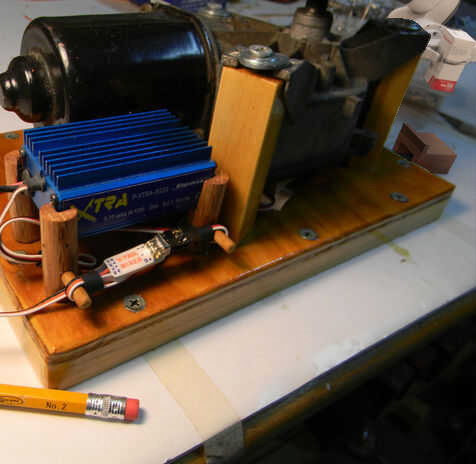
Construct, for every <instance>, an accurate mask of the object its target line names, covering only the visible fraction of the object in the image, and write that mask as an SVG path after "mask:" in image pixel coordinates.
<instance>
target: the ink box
mask: <svg viewBox="0 0 476 464" xmlns="http://www.w3.org/2000/svg"><path fill="white" fill-rule="evenodd" d="M463 31H464V30H462V31H458V30H453V29H445V30H444V33H443V35H442V37H441V40H440V42H439V44H440V45H439V47H438V48H437V50H436V52H440V53H441V54H443V57H442V58H441V61H440V62H433V61H432V60H430V63H429V65H428V67H427V70H426V71H425V74H424V76H423V78H424V80H425V81H426V83H427V85H428V87H429V88H430V89H431V90H433V91H438V92H439V91H440V92H446V93H453V91H454V89H455V86H456V85H457V83H458V81H459V79H460V77H461V74H462V72H463V70H464V68H465V66H466V65H467V64H466V62H467V60H468V58H469V56H470V54H471V52H472V50H473V48H474V46H475V44H476V40H475V39H474V38H473V37H471V35H469V34H468V33H467V32H466V31H464V32H463Z"/></svg>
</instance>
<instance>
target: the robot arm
mask: <svg viewBox="0 0 476 464" xmlns="http://www.w3.org/2000/svg"><path fill="white" fill-rule="evenodd" d="M396 1H397V2H399V3H400V4H402V5H404V6H401V7H397V8H394V9H393V10H392V11H391V12H390V13H389V14H388V15H387V17H386V19H387V18H403V19H409V20H413V21H415V22H416V23H418V24H419V25H420V26H421V27H422V28H423V29H424V30H425V31H427V32H428V33H430V34H431V39H430V41H429V43H428V45H427V47H426V50H425V51H424V53H423V54H422V56H421V59H420V60H419V61H423V60H430V61H431V60H432V61H433V62H440V61H441V58H442V57H443V54H441V53H440V52H436V50H437V48H438V47H439V45H440V44H439V42H440V40H441V37H442V35H443V33H444V30H445V29H453V30H458V31H463V32H465V31H464V30H462V29H460V28H455V27H452V26H447V25H445V24H446V23H448V22H449V21H450V20H451V18H453V16H454V15H455V14H456V13H457V11H458V9H459V7H460V5H461V2H462V0H396ZM475 62H476V44H475V46H474V48H473V50H472V52H471V54H470V56H469V58H468V60H467V62H466V64H465V65H468V64H469V63H475Z"/></svg>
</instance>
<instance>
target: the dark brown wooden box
mask: <svg viewBox="0 0 476 464" xmlns="http://www.w3.org/2000/svg"><path fill="white" fill-rule="evenodd" d="M392 151H393V152H394V153H395V154H407V155H413V157H412V158H411V160H410V162H413V163H415V164H417V165H419V166H421V167H423V168H425V169H427V170H428V171H430V172H432V173H431V174H447V175H448V174H449V172H450V171H451V168H452V167H453V165H454V162H455V161H456V159H457V157H458V154H457V153H456V152H455V151H453V149H451V147H449V146H448V144H446V143H445V142H444V141H443V140H442V139H440V137H439V136H438V135H436V134H435V133H434V132H425V131H417V130H416V129H415V128H414V127H413V126H412V125H410V123H408V122H403V123H402V126H401V128H400V130H399V132H398V134H397V136H396V140H395V141H394V144H393V146H392Z"/></svg>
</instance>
